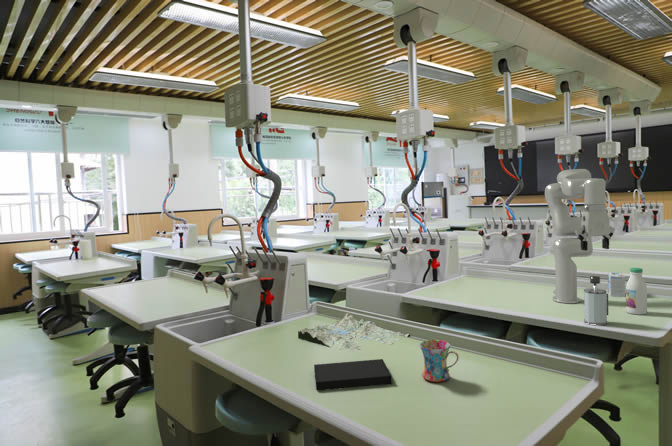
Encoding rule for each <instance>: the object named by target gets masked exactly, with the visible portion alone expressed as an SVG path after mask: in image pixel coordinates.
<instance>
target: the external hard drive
mask: <svg viewBox="0 0 672 446" xmlns="http://www.w3.org/2000/svg"><path fill="white" fill-rule="evenodd" d="M313 369H314V371H313V373H314V377H315V378H314V380H315V389H316V390H319V391H327V390H326V389H330V390H340V389H339V388H342V389H350V388H362V387H374V386H387V385H393V381H392V380H393V379H392V378H393V377H392V374H391V372H390V370H389V369H388V367H387V365H386V362H385V361H384V359H383V358H380V359H379V358H377V359H366V360H358V361H357V360H354V361H343V362H330V363H317V364H313Z"/></svg>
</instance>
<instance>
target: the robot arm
mask: <svg viewBox="0 0 672 446" xmlns="http://www.w3.org/2000/svg"><path fill="white" fill-rule="evenodd" d="M556 176H557V177H556V181H557V182H555V183H550V184H547V185H546V187H545V189H544V198H545V202H546V203H547V206H548V208H549V210H550V214H551V215H550V216H551V221H552V228H553V232H554V234H555V235H556V236H557V237H563V238H557V239H556V240H555V241H553V243H552V250H553V255H554V265H555V267H554V268H555V290H553V291H552V293H553V294H555V296H553V297H552V301H554V302H556V303H561V304H579V303H581V301H582V299H581V298H580V297H578V270H577V269H578V267H577V264H576V263H575V262H574V261H573V259H572V258H587V257H590V256H591V255H592V254H593V250H594V248H593V241H592V237H602V240H601V245H602V246H601V247H602V249H605V250H610V240H611V238H612V237H613V236H614V233H615V232H616V231H615V230H616V228H615V227H612V226H611V225H610V223H611V222H610V218H609V217H610V216H609V213H608V211H606V180H605V179H603V178H597V177H596V178H592V173H591V172H590V171H589V170H588V169H586V168H578V169H577V168H574V169H565V170H561V171H560V172H559V173H558V174H557V175H556ZM582 197H584V203H583V204H584V205H583V206H582V207H581V208H582V210H583V213H582V215H581V217H579V216H575V217H574V216H571V213H570V208H569V206H568V205H567V204H566V203H564V201H562V200H575V199H576V200H577V199H582Z"/></svg>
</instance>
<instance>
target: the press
mask: <svg viewBox="0 0 672 446" xmlns="http://www.w3.org/2000/svg"><path fill="white" fill-rule="evenodd" d="M583 292H584V293H583V294H584V295H583V299H584V300H583V302H584V303H583V304H584V305H583V306H584V310H583V312H584V319H583V323H584V324H586V323H589V324H588V325H590V324H596V325H603V326H607V325H608V316H609V293H608V292H607V290H606V289H603V288H597V291H594V287H593V288H591V287H589V288H584V289H583ZM596 325H595V326H596Z"/></svg>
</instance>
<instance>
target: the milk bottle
mask: <svg viewBox="0 0 672 446" xmlns="http://www.w3.org/2000/svg"><path fill="white" fill-rule="evenodd" d="M643 271H644V270H643V268H641V267H630V269H629V273H630V276H629V279H628V281H627V283H626V284H625V311H626V312H627V313H628V314H629V315H630V314H631V315H637V316H642V315H647V313H648V288H647V283H646V281H645V280H644V278H643Z"/></svg>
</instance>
